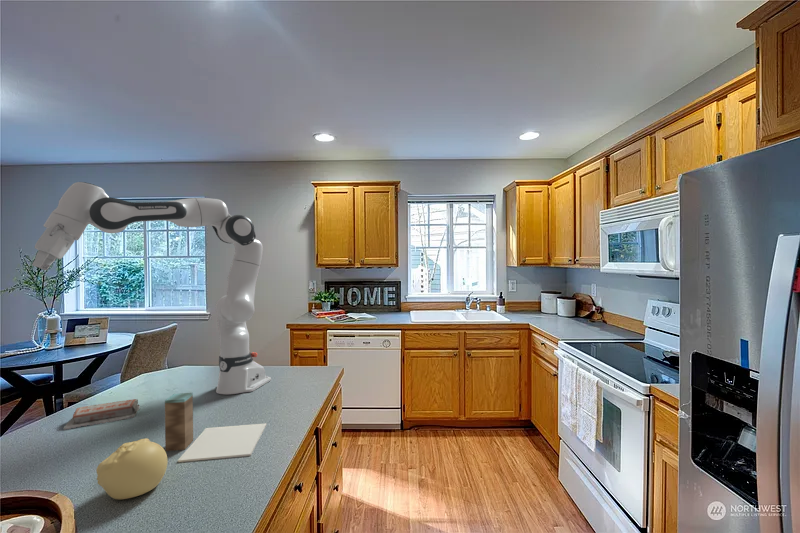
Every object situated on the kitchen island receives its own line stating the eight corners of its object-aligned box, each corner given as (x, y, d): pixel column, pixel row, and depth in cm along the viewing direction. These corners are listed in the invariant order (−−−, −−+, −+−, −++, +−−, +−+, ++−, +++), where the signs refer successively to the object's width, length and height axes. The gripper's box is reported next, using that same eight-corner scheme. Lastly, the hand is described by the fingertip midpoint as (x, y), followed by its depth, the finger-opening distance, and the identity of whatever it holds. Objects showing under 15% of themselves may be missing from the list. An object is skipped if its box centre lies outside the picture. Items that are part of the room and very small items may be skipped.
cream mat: (177, 462, 89) (177, 460, 89) (206, 429, 106) (206, 428, 106) (250, 455, 91) (250, 453, 91) (266, 424, 109) (266, 423, 109)
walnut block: (165, 451, 94) (164, 400, 94) (174, 442, 99) (173, 393, 99) (185, 449, 95) (184, 399, 95) (193, 440, 100) (192, 392, 100)
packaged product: (140, 395, 124) (134, 405, 115) (140, 408, 124) (134, 419, 115) (74, 405, 116) (62, 416, 107) (74, 419, 116) (62, 431, 107)
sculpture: (130, 474, 84) (129, 430, 84) (178, 474, 83) (177, 430, 83) (86, 507, 72) (85, 456, 72) (141, 507, 72) (140, 456, 72)
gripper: (72, 226, 102) (46, 269, 97) (80, 237, 118) (58, 274, 114) (44, 216, 98) (16, 260, 94) (57, 229, 114) (33, 266, 110)
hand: (39, 268), depth 104 cm, fingers open, 8 cm apart
